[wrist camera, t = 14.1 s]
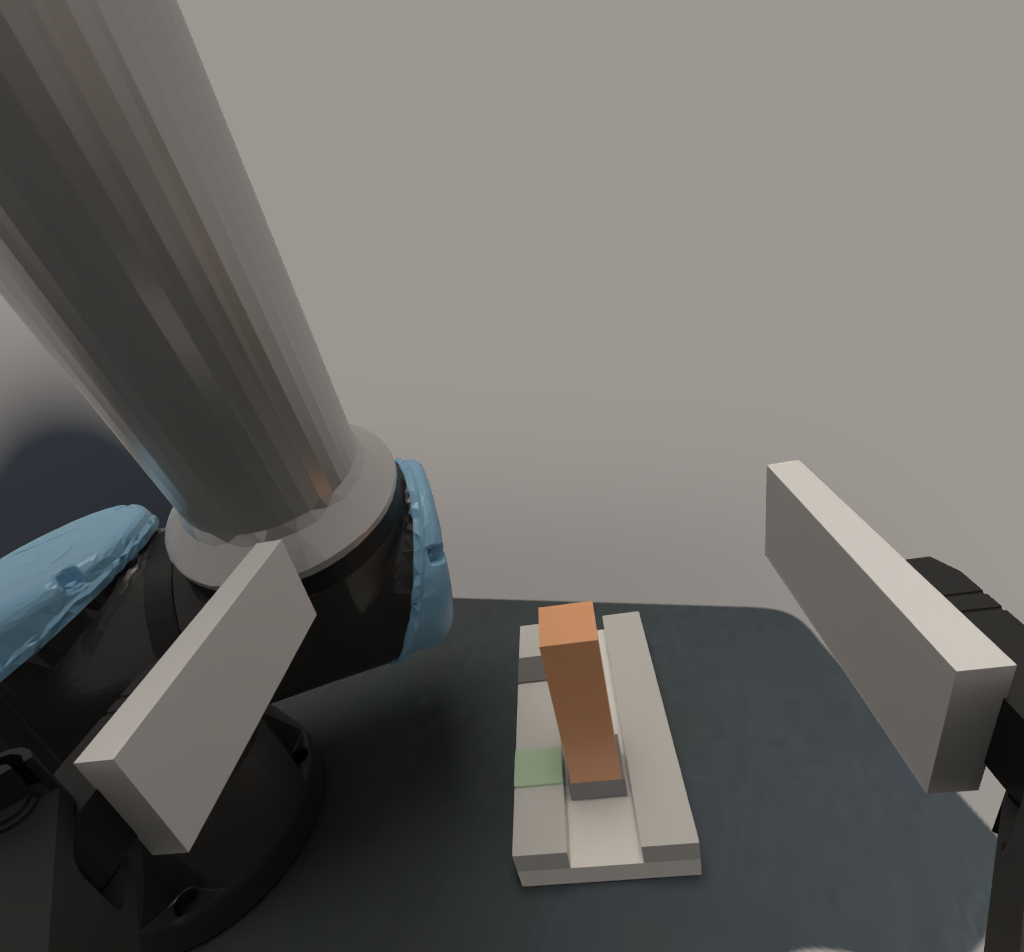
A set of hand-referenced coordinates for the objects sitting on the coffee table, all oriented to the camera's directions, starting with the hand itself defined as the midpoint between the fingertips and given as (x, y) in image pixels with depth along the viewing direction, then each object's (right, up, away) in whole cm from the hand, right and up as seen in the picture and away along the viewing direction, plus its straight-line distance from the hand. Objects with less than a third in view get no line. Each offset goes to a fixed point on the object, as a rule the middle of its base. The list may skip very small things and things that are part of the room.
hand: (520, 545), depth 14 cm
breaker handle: (+5, -17, +19) cm, 26 cm away
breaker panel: (+6, -17, +23) cm, 29 cm away
